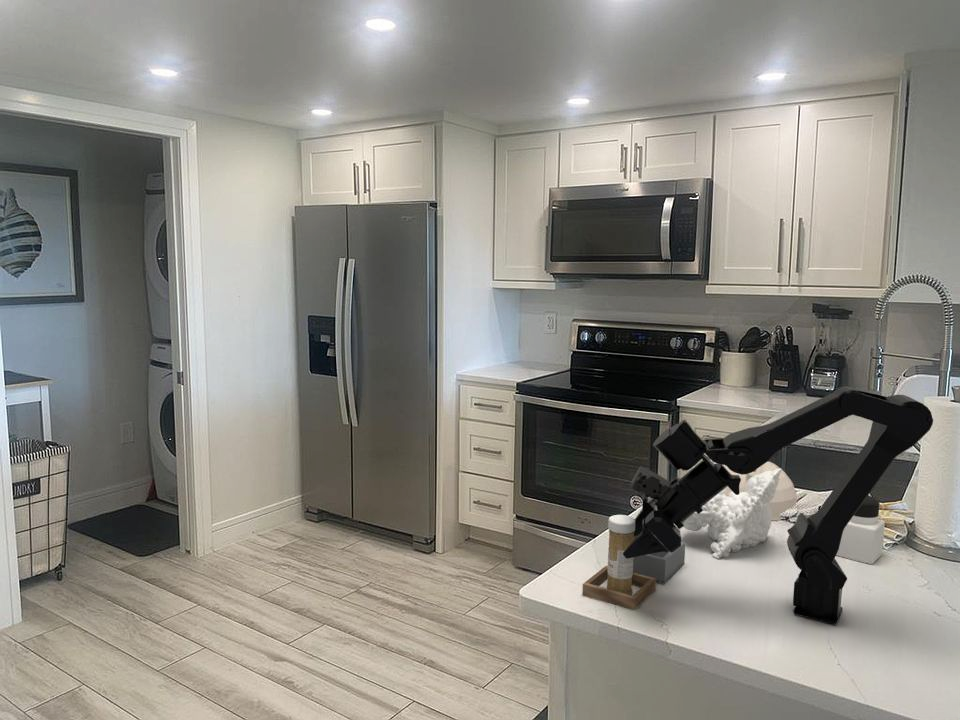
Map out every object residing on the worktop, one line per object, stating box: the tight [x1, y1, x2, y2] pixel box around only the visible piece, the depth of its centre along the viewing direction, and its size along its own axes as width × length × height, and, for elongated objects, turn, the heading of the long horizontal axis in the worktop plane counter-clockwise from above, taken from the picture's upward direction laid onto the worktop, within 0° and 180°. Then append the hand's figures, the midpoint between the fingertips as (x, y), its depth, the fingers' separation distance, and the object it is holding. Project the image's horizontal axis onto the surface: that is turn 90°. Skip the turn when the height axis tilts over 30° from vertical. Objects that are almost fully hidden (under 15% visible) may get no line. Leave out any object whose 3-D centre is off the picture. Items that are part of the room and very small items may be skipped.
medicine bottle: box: [836, 494, 886, 565], centre depth 143 cm, size 7×7×12 cm
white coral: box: [682, 465, 783, 560], centre depth 149 cm, size 19×20×20 cm
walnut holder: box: [581, 564, 657, 611], centre depth 126 cm, size 10×10×2 cm
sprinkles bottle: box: [606, 514, 635, 595], centre depth 126 cm, size 5×5×13 cm
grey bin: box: [633, 535, 686, 585], centre depth 137 cm, size 11×11×4 cm
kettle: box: [722, 461, 798, 522], centre depth 171 cm, size 20×21×18 cm
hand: (625, 545), depth 125 cm, fingers open, 9 cm apart
